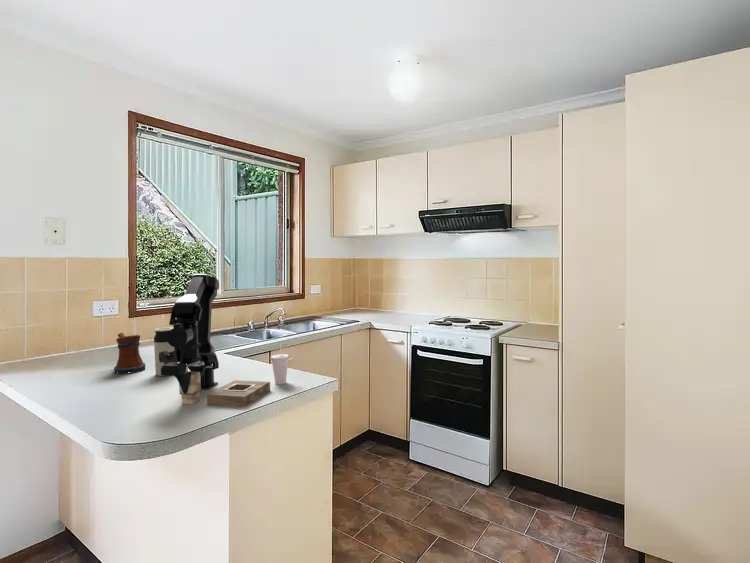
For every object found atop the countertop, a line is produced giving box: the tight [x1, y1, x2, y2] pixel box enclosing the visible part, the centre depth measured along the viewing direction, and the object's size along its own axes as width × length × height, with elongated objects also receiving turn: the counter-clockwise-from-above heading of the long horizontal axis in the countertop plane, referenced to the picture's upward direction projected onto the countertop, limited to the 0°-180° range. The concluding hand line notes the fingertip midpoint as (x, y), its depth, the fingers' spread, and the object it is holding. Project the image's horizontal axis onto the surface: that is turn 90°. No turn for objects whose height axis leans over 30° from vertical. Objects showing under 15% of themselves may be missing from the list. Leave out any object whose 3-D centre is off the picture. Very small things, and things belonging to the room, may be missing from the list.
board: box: [206, 379, 271, 407], centre depth 139 cm, size 16×13×3 cm
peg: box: [178, 372, 202, 405], centre depth 135 cm, size 4×4×9 cm
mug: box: [113, 332, 146, 374], centre depth 179 cm, size 18×12×15 cm, turn 43°
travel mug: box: [153, 326, 174, 377], centre depth 170 cm, size 8×8×18 cm
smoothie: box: [270, 343, 290, 385], centre depth 154 cm, size 6×6×14 cm
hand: (190, 390), depth 135 cm, fingers closed on peg, 4 cm apart
